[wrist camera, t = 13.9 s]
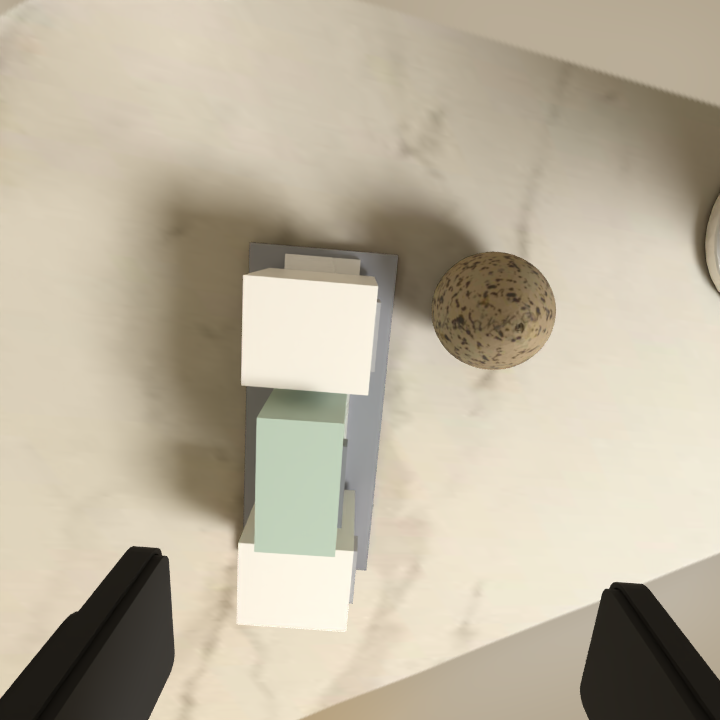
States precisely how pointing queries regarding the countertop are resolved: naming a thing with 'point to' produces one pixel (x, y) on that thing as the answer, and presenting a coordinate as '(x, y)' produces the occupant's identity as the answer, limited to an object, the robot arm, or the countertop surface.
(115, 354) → the countertop surface
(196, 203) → the countertop surface
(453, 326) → the decorative egg
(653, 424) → the countertop surface
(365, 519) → the board
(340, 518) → the block
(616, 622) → the robot arm
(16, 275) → the countertop surface
